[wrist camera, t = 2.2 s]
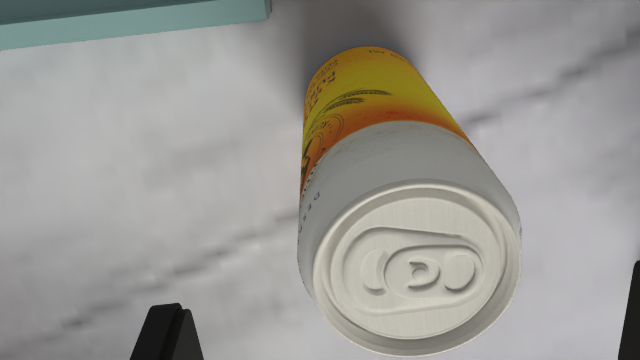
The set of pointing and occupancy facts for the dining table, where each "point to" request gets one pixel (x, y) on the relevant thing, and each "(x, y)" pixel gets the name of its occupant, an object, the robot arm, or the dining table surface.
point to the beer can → (399, 212)
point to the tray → (115, 18)
